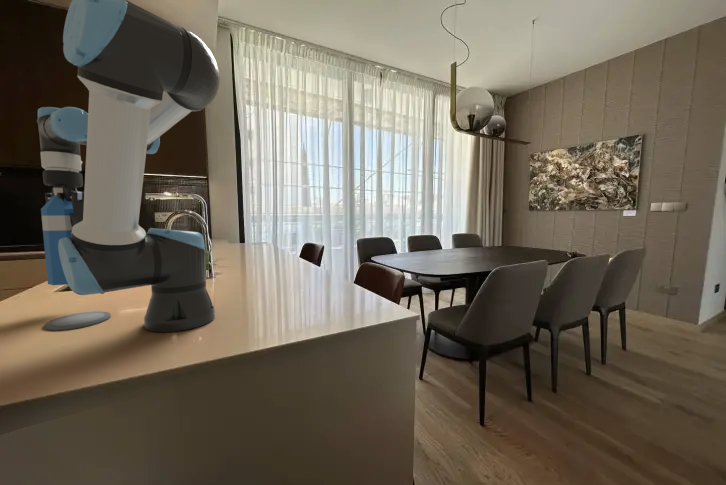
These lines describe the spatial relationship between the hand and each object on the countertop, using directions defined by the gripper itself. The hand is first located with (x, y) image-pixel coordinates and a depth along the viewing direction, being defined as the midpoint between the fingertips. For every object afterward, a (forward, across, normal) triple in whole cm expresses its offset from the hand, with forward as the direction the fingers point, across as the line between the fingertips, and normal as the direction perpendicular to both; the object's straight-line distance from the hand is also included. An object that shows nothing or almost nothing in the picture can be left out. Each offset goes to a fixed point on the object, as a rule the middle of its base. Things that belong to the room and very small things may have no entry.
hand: (70, 255), depth 83 cm
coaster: (+16, -10, +4) cm, 19 cm away
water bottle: (+7, 0, 0) cm, 7 cm away
